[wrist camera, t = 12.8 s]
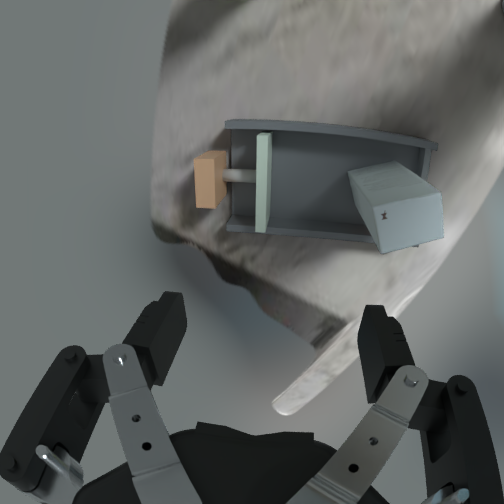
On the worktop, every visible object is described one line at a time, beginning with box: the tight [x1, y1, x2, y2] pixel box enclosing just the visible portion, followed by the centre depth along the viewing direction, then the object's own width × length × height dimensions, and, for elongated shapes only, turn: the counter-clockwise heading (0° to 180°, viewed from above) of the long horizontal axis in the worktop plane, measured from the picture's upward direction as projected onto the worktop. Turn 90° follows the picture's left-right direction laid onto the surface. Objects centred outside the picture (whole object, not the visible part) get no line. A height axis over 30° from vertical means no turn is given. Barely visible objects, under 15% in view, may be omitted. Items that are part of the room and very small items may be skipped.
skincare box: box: [348, 161, 444, 254], centre depth 26 cm, size 6×4×12 cm
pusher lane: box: [225, 119, 438, 247], centre depth 30 cm, size 22×12×4 cm, turn 89°
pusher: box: [194, 131, 273, 233], centre depth 30 cm, size 7×10×5 cm
